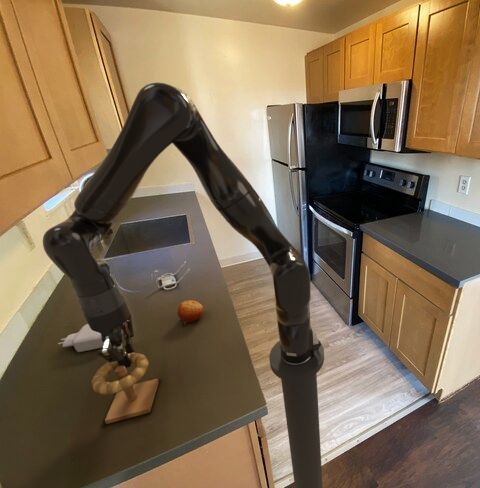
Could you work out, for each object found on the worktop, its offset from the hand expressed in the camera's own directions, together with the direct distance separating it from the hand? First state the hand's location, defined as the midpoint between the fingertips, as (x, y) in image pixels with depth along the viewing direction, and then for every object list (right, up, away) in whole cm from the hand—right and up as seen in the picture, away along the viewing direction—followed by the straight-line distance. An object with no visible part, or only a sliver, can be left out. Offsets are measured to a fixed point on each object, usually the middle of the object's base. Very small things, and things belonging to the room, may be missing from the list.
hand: (128, 361), depth 69 cm
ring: (+1, -1, -4) cm, 4 cm away
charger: (-26, -2, +19) cm, 32 cm away
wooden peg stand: (+2, -10, 0) cm, 10 cm away
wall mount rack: (-17, +13, +53) cm, 58 cm away
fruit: (+2, +3, +29) cm, 29 cm away
